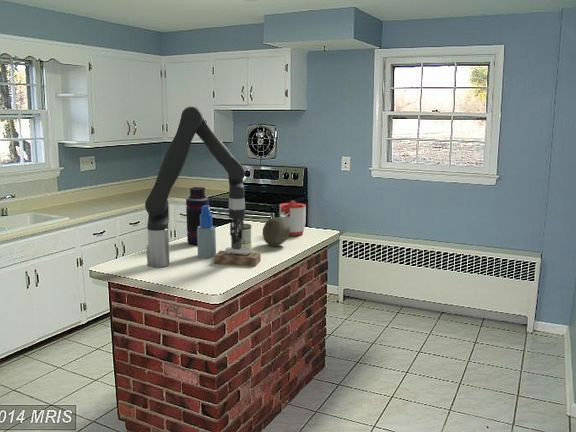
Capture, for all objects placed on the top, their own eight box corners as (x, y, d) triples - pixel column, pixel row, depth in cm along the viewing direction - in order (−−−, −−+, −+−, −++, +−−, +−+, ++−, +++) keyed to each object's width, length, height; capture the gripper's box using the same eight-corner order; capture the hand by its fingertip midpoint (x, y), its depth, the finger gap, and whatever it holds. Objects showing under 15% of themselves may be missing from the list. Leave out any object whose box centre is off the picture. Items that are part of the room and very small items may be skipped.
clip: (225, 262, 258) (225, 238, 256) (227, 260, 261) (227, 237, 259) (248, 263, 256) (247, 239, 254) (249, 262, 259) (249, 238, 257)
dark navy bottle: (203, 246, 288) (201, 189, 282) (183, 244, 292) (181, 188, 286) (215, 240, 301) (213, 186, 295) (195, 238, 304) (194, 185, 299)
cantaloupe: (268, 250, 281) (268, 221, 278) (259, 243, 294) (258, 216, 291) (293, 247, 287) (294, 219, 284) (283, 241, 299) (283, 214, 296)
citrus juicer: (271, 235, 314) (271, 200, 310) (289, 229, 328) (289, 196, 324) (294, 238, 305) (294, 203, 301) (311, 233, 319) (311, 199, 315)
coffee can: (226, 253, 274) (226, 225, 272) (240, 249, 282) (239, 222, 280) (242, 256, 268) (242, 228, 266) (255, 252, 277) (255, 225, 274)
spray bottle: (219, 254, 272) (218, 204, 267) (210, 259, 264) (209, 207, 259) (203, 252, 275) (202, 203, 270) (194, 257, 267) (192, 206, 262)
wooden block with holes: (214, 263, 256) (214, 255, 255) (220, 258, 265) (220, 250, 264) (255, 266, 252) (255, 257, 251) (260, 260, 261) (260, 252, 260)
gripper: (233, 204, 261) (233, 237, 264) (224, 209, 247) (224, 244, 250) (248, 205, 260) (248, 238, 263) (240, 210, 246) (240, 245, 249)
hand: (237, 241), depth 257 cm, fingers open, 8 cm apart
